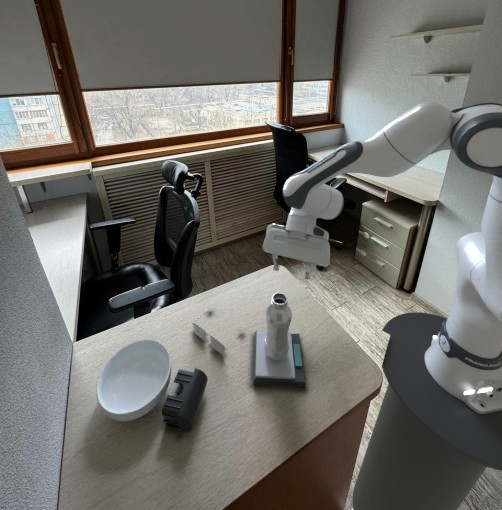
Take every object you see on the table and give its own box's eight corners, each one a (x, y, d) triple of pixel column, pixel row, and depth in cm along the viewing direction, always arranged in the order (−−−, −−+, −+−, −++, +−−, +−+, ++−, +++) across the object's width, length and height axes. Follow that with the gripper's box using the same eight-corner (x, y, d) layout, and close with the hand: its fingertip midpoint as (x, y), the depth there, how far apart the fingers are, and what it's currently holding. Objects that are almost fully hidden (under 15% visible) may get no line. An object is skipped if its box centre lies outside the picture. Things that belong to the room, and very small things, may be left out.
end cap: (193, 436, 59) (191, 419, 56) (163, 429, 60) (159, 411, 57) (208, 387, 68) (207, 370, 65) (182, 381, 69) (180, 364, 66)
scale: (298, 338, 80) (299, 331, 79) (304, 387, 68) (305, 380, 67) (255, 336, 80) (255, 329, 79) (253, 384, 68) (253, 377, 67)
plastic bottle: (263, 341, 76) (265, 287, 68) (287, 341, 76) (291, 288, 68) (264, 364, 70) (266, 309, 62) (290, 365, 70) (295, 309, 62)
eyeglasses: (191, 330, 82) (191, 320, 81) (210, 313, 88) (210, 304, 87) (226, 358, 75) (226, 347, 73) (243, 337, 81) (244, 327, 79)
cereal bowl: (169, 425, 61) (165, 407, 58) (90, 439, 58) (83, 420, 56) (177, 351, 76) (174, 334, 73) (115, 360, 74) (110, 342, 71)
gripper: (266, 220, 84) (255, 264, 79) (333, 233, 77) (326, 283, 73) (270, 224, 90) (260, 266, 85) (333, 237, 83) (326, 284, 78)
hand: (291, 274), depth 79 cm, fingers open, 8 cm apart
